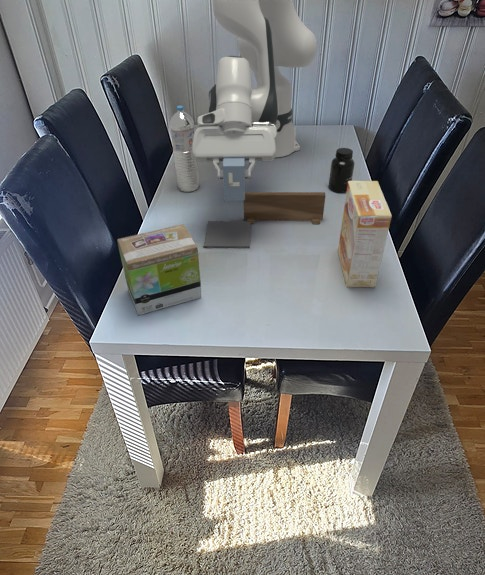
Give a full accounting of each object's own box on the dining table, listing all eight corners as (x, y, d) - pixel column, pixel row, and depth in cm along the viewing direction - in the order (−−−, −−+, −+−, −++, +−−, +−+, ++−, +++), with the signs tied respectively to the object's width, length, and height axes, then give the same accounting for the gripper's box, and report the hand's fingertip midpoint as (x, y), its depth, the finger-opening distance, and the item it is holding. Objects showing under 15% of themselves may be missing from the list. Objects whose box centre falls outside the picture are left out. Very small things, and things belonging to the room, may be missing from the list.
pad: (208, 222, 125) (207, 220, 124) (250, 222, 124) (250, 220, 124) (203, 247, 116) (203, 246, 115) (249, 248, 115) (249, 246, 115)
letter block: (225, 190, 113) (223, 156, 107) (245, 190, 113) (244, 156, 107) (224, 200, 109) (222, 166, 103) (244, 200, 109) (244, 166, 103)
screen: (244, 214, 128) (243, 189, 122) (321, 214, 127) (324, 189, 122) (243, 223, 124) (243, 198, 119) (323, 224, 123) (326, 198, 118)
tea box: (138, 318, 97) (125, 264, 87) (128, 290, 104) (114, 237, 94) (203, 298, 101) (197, 245, 91) (189, 273, 108) (182, 221, 98)
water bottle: (190, 180, 144) (181, 100, 127) (204, 187, 140) (197, 106, 124) (173, 187, 140) (162, 106, 124) (187, 195, 136) (177, 112, 120)
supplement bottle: (350, 194, 135) (356, 156, 127) (327, 192, 136) (332, 155, 128) (350, 183, 140) (356, 146, 132) (328, 181, 141) (333, 145, 133)
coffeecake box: (336, 249, 114) (347, 180, 101) (364, 249, 114) (378, 179, 101) (345, 287, 103) (357, 215, 90) (376, 288, 103) (393, 215, 90)
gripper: (276, 127, 111) (276, 181, 110) (194, 128, 112) (194, 182, 111) (277, 116, 105) (278, 173, 104) (191, 117, 105) (190, 174, 105)
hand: (234, 178), depth 108 cm, fingers closed on letter block, 5 cm apart
